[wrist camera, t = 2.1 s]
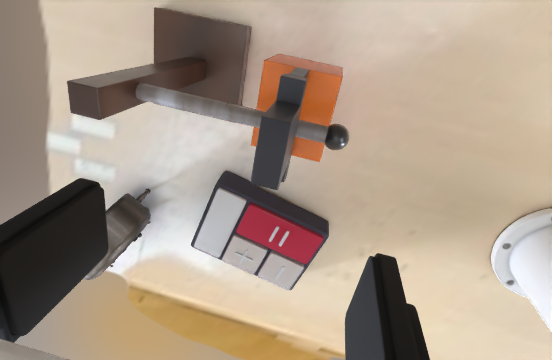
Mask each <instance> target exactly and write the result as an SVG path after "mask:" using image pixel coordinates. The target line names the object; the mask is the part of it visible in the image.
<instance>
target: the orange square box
mask: <svg viewBox="0 0 552 360" xmlns="http://www.w3.org/2000/svg"><path fill="white" fill-rule="evenodd" d="M342 74H343V68H342V67H338V66H333V65H328V64H324V63H319V62H315V61H310V60H305V59H301V58H296V57H291V56H287V55H282V54H277V55H275V56H273V57H270V58H268V59H266V60H264V65H263V71H262V78H261V84H260V90H259V97H258V103H257V110H260V111H265V113H264V114H263V115H262V117H261V122H260V128H257V127H254V129H253V136H252V142H251V145H252V146H256V152H255V159H254V165H253V171H252V177H251V184H255V185H259V186H263V187H266V188H270V189H274V190H278V187H279V185H280V183H281V182H284V181H285V179H286V176H287V172H288V167H289V163H290V158H291V155H293V156H297V157H301V158H305V159H309V160H314V161H318V162H320V160H321V156H322V152H323V148H324V145H325V144H324V143H320V142H316V141H312V140H308V139H304V138H299V137H295V136H296V131H297V126H298V122H299V120H303V121H308V122H312V123H316V124H321V125H325V126H330V122H331V119H332V115H333V111H334V107H335V104H336V100H337V96H338V92H339V89H340V85H341V81H342Z"/></svg>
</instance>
